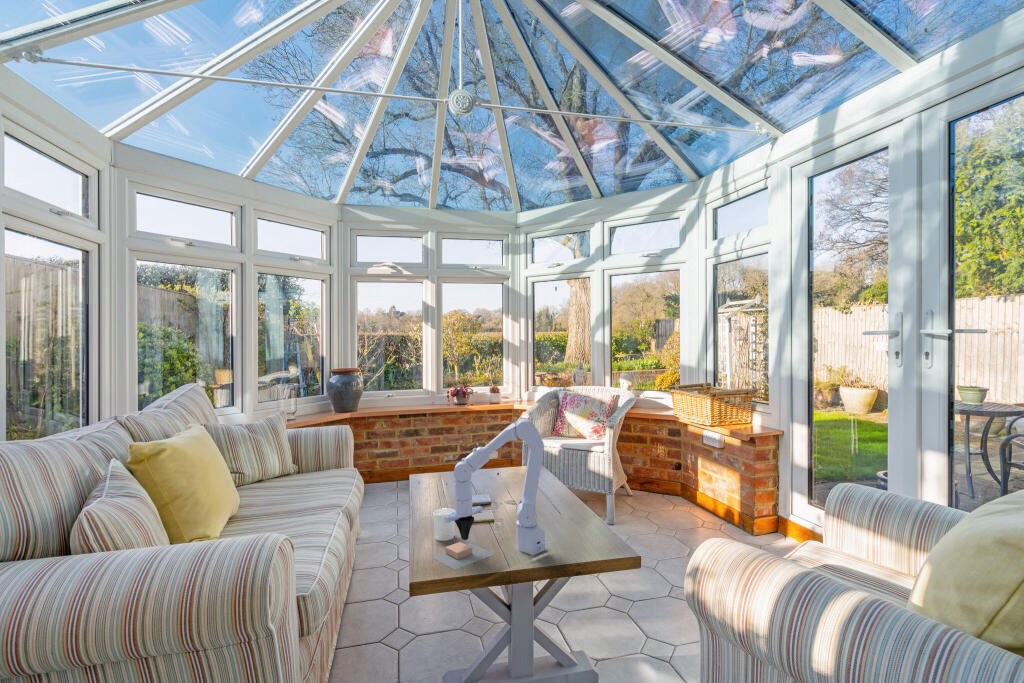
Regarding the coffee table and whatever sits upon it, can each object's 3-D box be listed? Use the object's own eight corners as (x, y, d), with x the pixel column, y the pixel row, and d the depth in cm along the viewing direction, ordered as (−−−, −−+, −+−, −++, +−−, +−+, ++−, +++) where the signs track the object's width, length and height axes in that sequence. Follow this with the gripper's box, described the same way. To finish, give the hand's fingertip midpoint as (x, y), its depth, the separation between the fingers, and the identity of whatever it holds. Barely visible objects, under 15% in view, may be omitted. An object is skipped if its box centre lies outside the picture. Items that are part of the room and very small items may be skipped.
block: (472, 547, 162) (457, 552, 158) (472, 554, 162) (457, 559, 158) (460, 541, 168) (445, 547, 164) (460, 548, 168) (445, 553, 164)
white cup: (440, 545, 173) (439, 516, 173) (430, 538, 179) (429, 511, 179) (459, 539, 177) (458, 511, 178) (449, 533, 184) (448, 506, 184)
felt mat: (494, 556, 162) (494, 554, 162) (454, 572, 151) (454, 569, 151) (469, 545, 172) (469, 542, 172) (430, 558, 161) (430, 556, 161)
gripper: (473, 491, 173) (474, 530, 173) (438, 500, 163) (439, 541, 163) (486, 495, 168) (487, 535, 167) (450, 505, 158) (452, 547, 158)
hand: (464, 539), depth 165 cm, fingers closed
